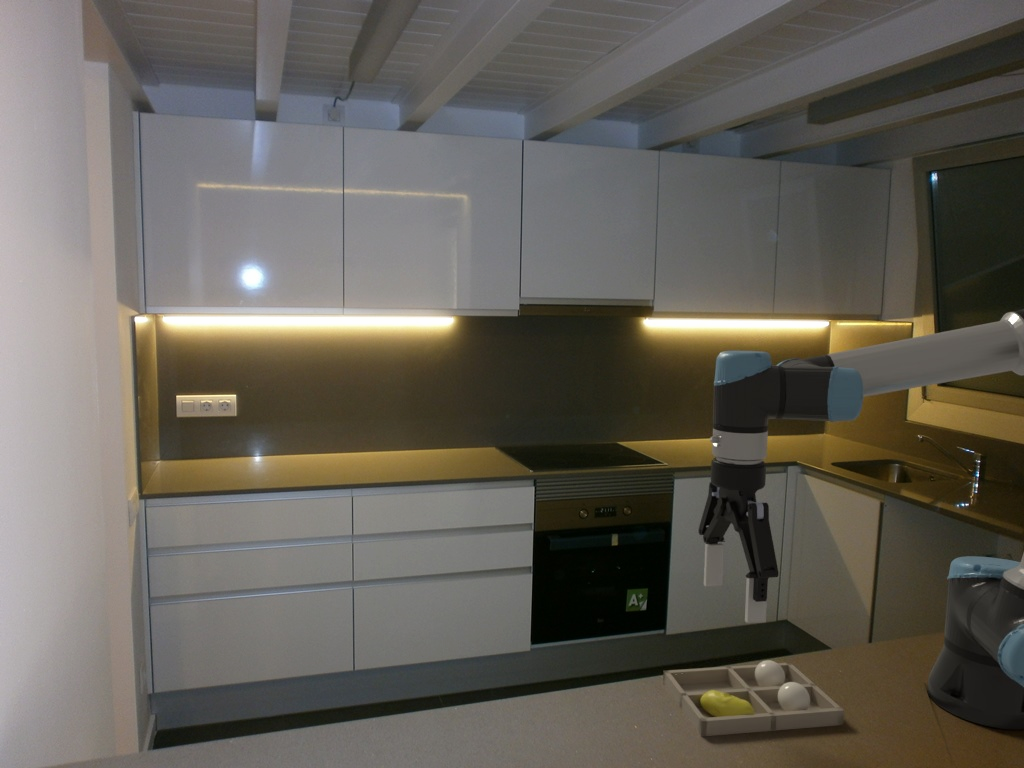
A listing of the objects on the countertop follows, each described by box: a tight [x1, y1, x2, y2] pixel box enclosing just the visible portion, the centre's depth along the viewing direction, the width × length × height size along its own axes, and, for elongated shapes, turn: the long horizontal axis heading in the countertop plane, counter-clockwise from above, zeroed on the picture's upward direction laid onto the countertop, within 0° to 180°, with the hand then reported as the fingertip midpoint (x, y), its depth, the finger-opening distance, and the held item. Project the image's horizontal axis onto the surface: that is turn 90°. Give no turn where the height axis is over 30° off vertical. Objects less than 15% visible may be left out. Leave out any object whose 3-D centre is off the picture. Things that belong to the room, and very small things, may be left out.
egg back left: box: [778, 682, 810, 712], centre depth 113 cm, size 5×5×5 cm
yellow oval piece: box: [700, 690, 755, 717], centre depth 111 cm, size 4×8×4 cm, turn 52°
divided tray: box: [662, 662, 845, 737], centre depth 115 cm, size 22×15×3 cm
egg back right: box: [755, 659, 785, 687], centre depth 120 cm, size 5×5×5 cm
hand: (732, 602), depth 109 cm, fingers open, 13 cm apart
